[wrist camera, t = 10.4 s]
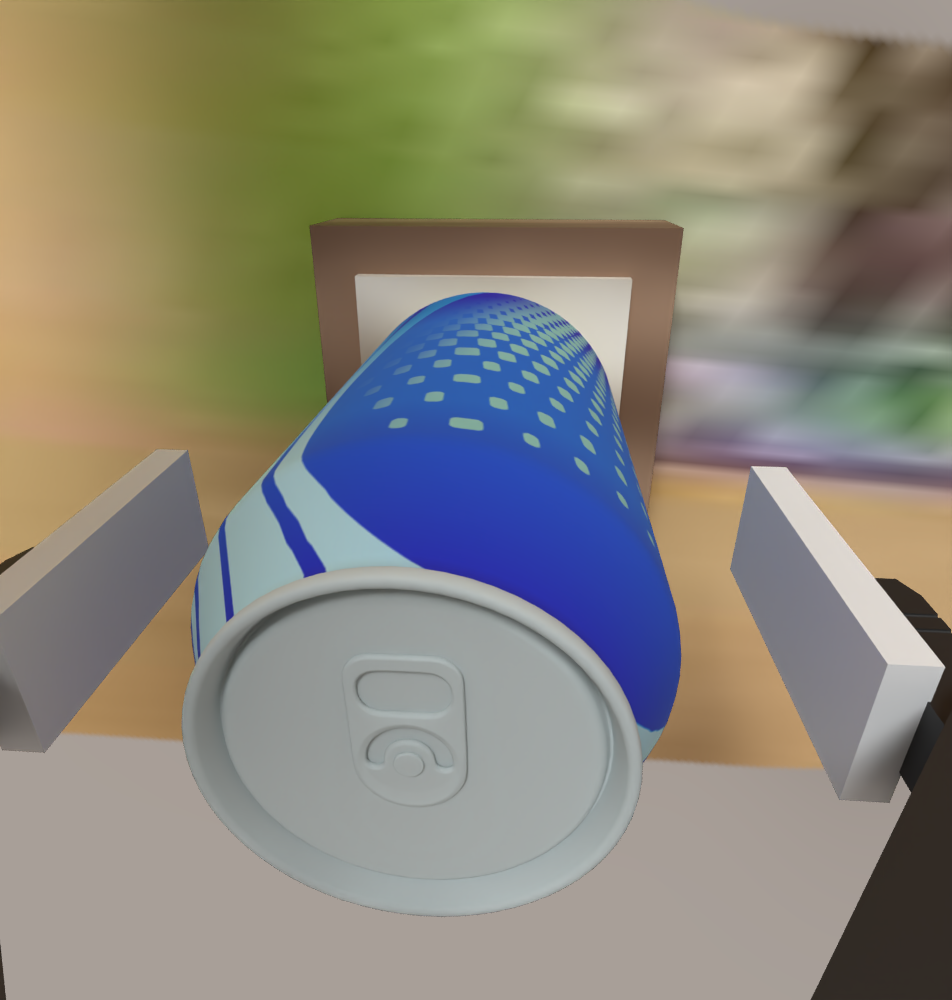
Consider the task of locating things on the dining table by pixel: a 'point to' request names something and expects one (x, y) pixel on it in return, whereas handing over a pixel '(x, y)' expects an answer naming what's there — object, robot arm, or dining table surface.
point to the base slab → (510, 293)
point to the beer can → (438, 626)
